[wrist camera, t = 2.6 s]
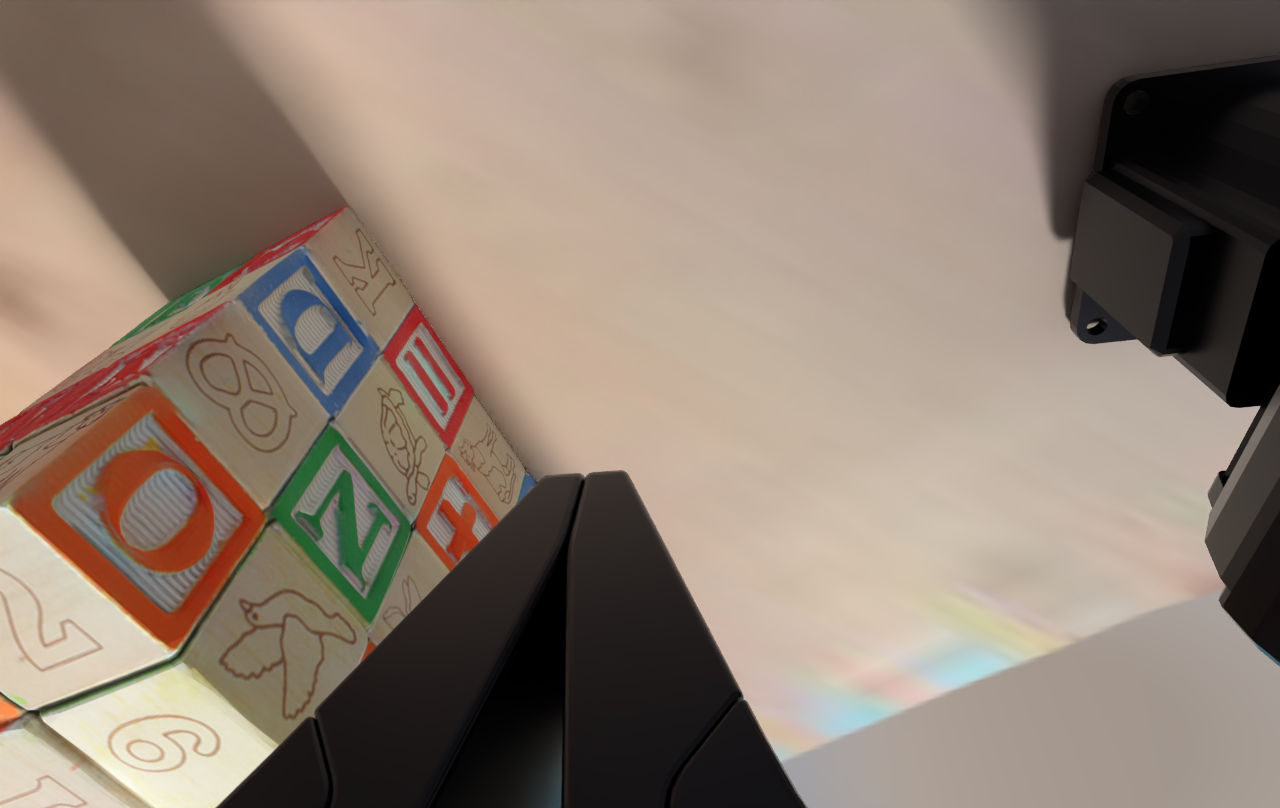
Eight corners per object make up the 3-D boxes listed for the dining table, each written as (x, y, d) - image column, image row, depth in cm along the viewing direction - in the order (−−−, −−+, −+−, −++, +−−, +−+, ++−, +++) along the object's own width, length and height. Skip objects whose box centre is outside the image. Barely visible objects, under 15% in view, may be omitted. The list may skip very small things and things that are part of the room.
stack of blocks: (697, 705, 30) (711, 1135, 19) (552, 747, 31) (492, 1165, 21) (347, 197, 20) (-13, 505, 9) (163, 296, 22) (-319, 654, 11)
